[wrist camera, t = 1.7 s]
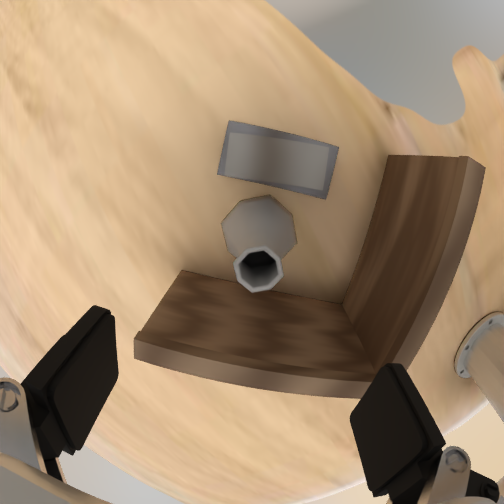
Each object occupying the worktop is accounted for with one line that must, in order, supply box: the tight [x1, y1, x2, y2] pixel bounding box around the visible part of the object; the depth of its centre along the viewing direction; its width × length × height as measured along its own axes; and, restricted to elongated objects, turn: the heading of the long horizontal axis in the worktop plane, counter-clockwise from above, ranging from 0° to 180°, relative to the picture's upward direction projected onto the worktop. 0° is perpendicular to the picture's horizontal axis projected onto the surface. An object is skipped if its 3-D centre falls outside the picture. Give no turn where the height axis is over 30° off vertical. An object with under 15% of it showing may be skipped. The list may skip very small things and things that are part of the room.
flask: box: [221, 195, 297, 293], centre depth 23 cm, size 7×7×10 cm
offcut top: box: [224, 132, 329, 190], centre depth 22 cm, size 8×4×2 cm, turn 83°
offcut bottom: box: [217, 121, 339, 200], centre depth 25 cm, size 10×5×2 cm, turn 78°
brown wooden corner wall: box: [134, 155, 486, 399], centre depth 21 cm, size 19×18×13 cm
